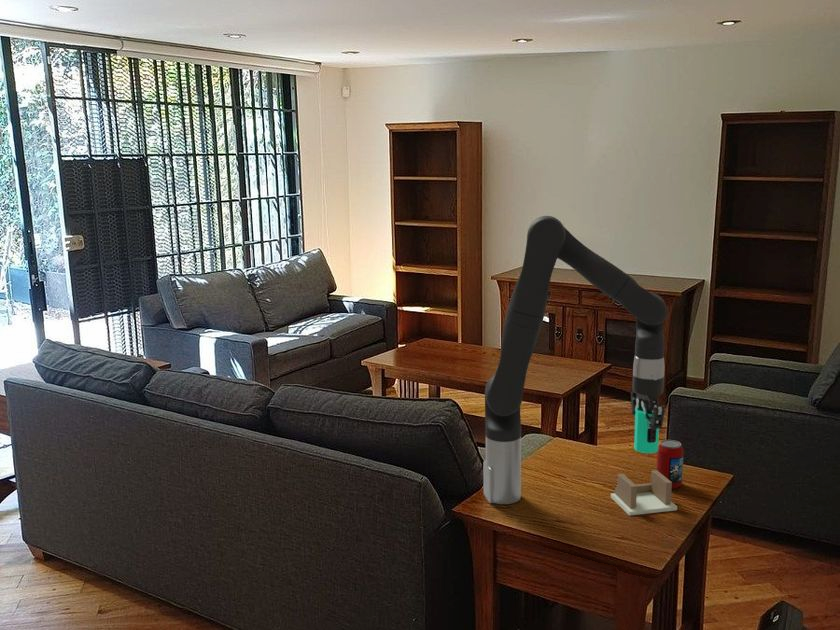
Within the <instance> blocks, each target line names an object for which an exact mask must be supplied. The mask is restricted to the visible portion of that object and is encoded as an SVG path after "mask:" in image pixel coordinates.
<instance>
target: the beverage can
mask: <svg viewBox="0 0 840 630" xmlns="http://www.w3.org/2000/svg"><path fill="white" fill-rule="evenodd" d="M656 453H657V455H656V456H657V457H656V470H657V471H658V472H660V473H661V474H662V475H663V476H665V477H666V478H667V479H668V480H670V481H671V482H672V489H677V488H678V487H681V486H683V485H682V484H683V475H684V474H683V473H684V469H683V468H684V453H685V449H684V448H683V446H682V443H681V442H680V441H678V440H674V439H663V440H660V442H659V444H658V451H657V452H656ZM672 489H671V490H672Z"/></svg>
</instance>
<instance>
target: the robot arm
mask: <svg viewBox="0 0 840 630" xmlns="http://www.w3.org/2000/svg"><path fill="white" fill-rule="evenodd" d="M526 233H527V235H526V245H525V253H524V257H523V263H522V267H521V271H520V275H519V277H518V279H517V281H516V284H515V285H514V288H513V291H512V294H511V297H510V299H509V303H508V307H507V310H506V314H505V318H504V322H503V327H502V335H501V345H500V347H501V348H500V357H499V361H498V364H497V368H496V371H495V374H494V375H493V376H491V377H490V378H489V379H488V380H487V382H486V385H485V387H484V388H485V389H484V423H485V460H483V464H482V465H483V468H482V469H483V471H482V473H483V475H482V476H483V496H484V498H485V499H486V500H487V502H488V503H489V504H498V505H510V504H511V505H512V504H515V503H517V502H519V501H520V500H521V496H522V495H521V494H522V478H521V477H522V471H521V469H522V420H521V405H522V402H523V396H524V391H525V390H524V389H525V383H526V377H527V371H528V368H529V365H530V362H531V358H532V356H533V353H534V350H535V347H536V345H537V342H538V337H539V334H540V333H541V330H542V325H543V322H544V318H545V313H546V309H547V303H548V298H549V291H550V283H551V278H552V274H553V271H554V269H555V266H556V263H557V260H561V262H563V263H565V264H567V265H568V266H570V267H571V268H572V269H573V270H575V271H576V272H577V273H579V275H581V276H582V277H583V278H584V279H585V280H586V281H587V282H589V283H590V284H591V285H592V286H594V287H595V288H596V289H598V290H599V291H600V292H601V293H602V294H604V295H606V296H607V297H609V298H610V299H612V300H613V301H615V302H616V303H617V304H619V305H621V306H622V308H624V309H625V310H627V312H628V313H630V314H631V316H633V317H635V329H636V330H635V332H636V334H635V335H636V336H635V344H634V357H633V365H632V385H631V386H632V391H631V392H630V402H631V403H630V405H631V407H630V408H631V414H632V416H635V411H636V408H638V410H639V409H640V410H642V411H643V413H645V419H647V428H648V431H647V442H648V443H653V442H655V441H656V429H657V428H659V429H662V427H663V422H664V416H665V411H666V408H665V406H664V405H663V406H662V405H661V406H660V404H659V396H660V395H661V394H663V393H664V389H665V388H664V385H665V369H666V367H665V346H666V345H665V335H664V323H665V322H664V321H665V320H666V318H667V316H668V307H667V305H666V303H665V301H664V299H663V298H662V296H660V295H659V294H657V293H655V292H650V291H648V289H646V288H644V287H642V286H641V285H640V284H639V283H638V282H637V281H636V280H635V279H634V278H633V277H631V276H630V275H629V274H627V273H626V272H625V271H623V270H622V269H621V268H619V267H617V266H616V265H614V264H613V263H611V262H610V261H608V260H607V259H605V258H604V257H602V256H601V255H599V254H598V253H596V252H594V251H593V250H592V249H590V248H589V247H588V246H586V245H584V244H583V243H582V242H581V241H579V240H578V239H577V238H576V237H575V235H573V234H572V233H571V232H570V231H569V230H568V229H567V228H566V227H565V226H564V224H563V223H562V222H561V220H559V219H558V218H556V217H554V216H552V215H551V216H550V215H542V216H539V217H538V218H537V217H536V219H534V220H533V221H532V222H531V223H530V225H529V227H528V229H527V232H526ZM648 414H652V417H649V415H648ZM650 419H652V420H651V422H650ZM658 421H659V422H658Z"/></svg>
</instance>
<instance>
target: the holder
mask: <svg viewBox="0 0 840 630" xmlns="http://www.w3.org/2000/svg"><path fill="white" fill-rule="evenodd" d="M650 472H651V474H650V482H649V483H639V484H636V483H634V482H633V481H632V480H631V479H629V478H628V477H627V476H626V475H625V474H624V473H617V477H616V478H617V482H616V483H617V484H616V486H615V490H614V492H613V493H610V498H611V499H612V500H613V501H614V502H615V503H616V504H617V505H618V506H619V507H620V508H621V509H622V510H623V511H624V512H625V513H626V514H627V515H628V516H637V515H646V514H655V513H662V512H672V511H673V512H674V511H678V506H677V505H676V504H675V503H674V502H673V501H672V482H671V481H670V480H668V479H667V478H666V477H665V476H663V475H662V474H661V473H660V472H658V471H657V469H655V470H654V469H653V470H651V471H650Z"/></svg>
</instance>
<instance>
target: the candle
mask: <svg viewBox="0 0 840 630" xmlns="http://www.w3.org/2000/svg"><path fill="white" fill-rule="evenodd" d="M648 415H649V417H652V414H648ZM651 420H652V419H650V422H651ZM658 422H659V421H658ZM647 431H648V428H647V419H645V413H643V411H642V410H640V409H639V410H638V408H636V411H635V415H634V442H633V443H634V444H633V445H634V446H633V449H634V451H636V452H639V453H642V454H655V453H657V452H658V446H659V444H660V441H659V440H660V438H659V437H660V436H659V435H660V428H657V429H656V441H655V442H653V443H648V442H647Z"/></svg>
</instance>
